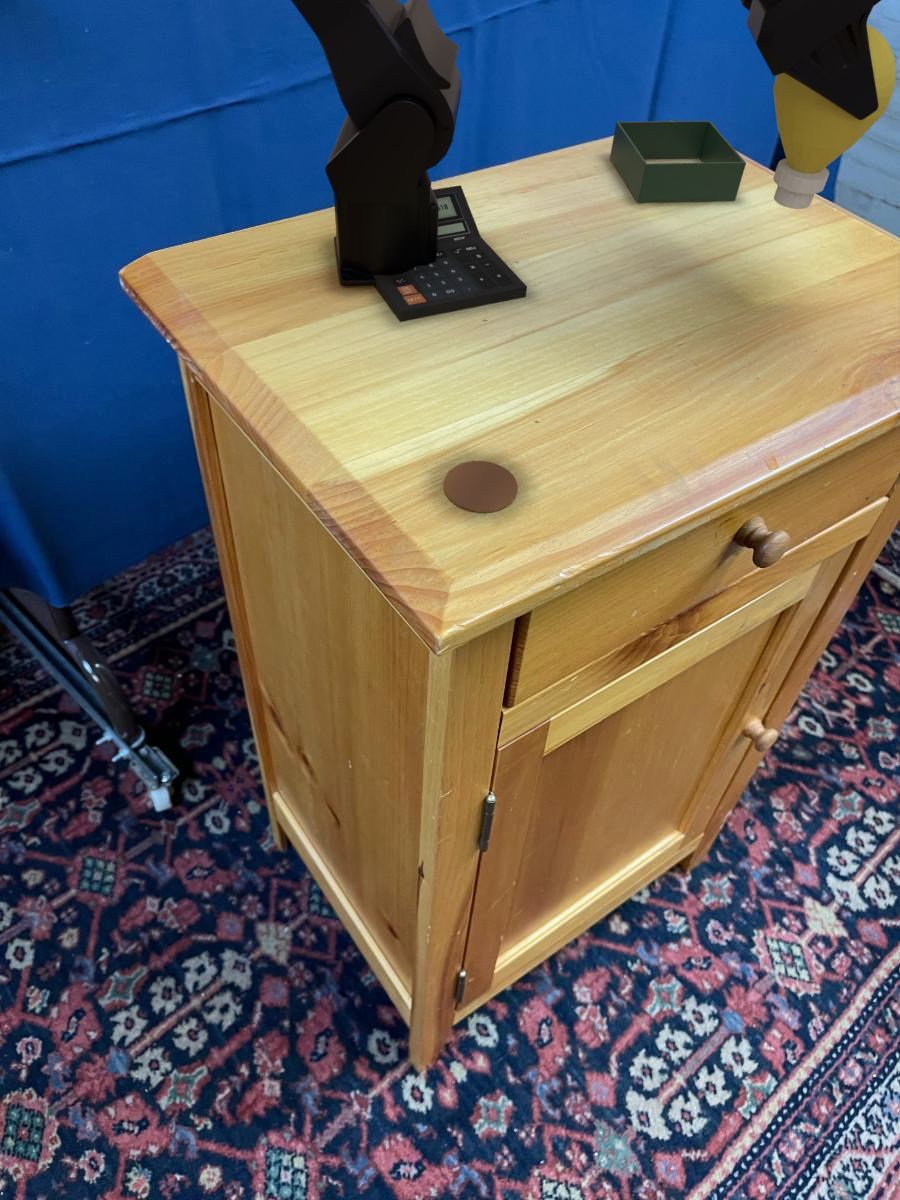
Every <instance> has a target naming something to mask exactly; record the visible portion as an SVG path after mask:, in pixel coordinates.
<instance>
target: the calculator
mask: <svg viewBox="0 0 900 1200" xmlns="http://www.w3.org/2000/svg"><path fill="white" fill-rule="evenodd" d="M432 189H433V188H432ZM433 190H434V192H435V196H436V199H437V202H438V205H439V215H438V241H437V260H436V261H435V262H434V263H429V264H428V265H425V266H417V267H415V268H413V269H412V270H409V271H407V272H404V273H401V274H395V275H373V277H374V278H375V279H376V286H374V288H375V289H376V291H377V292H378V293H379V295H380V297H381V298H382V299H383V301H384V302H385V303H386V304H387V306H388V307H389V309H390V310H391V311H392V313H393V314H394V315H395V317H396V318H397V320H398V322H400V323H402V322H407V321H412V320H417V319H422V318H423V319H424V318H428V317H432V316H433V317H434V316H438V315H442V314H447V313H453V312H457V311H463V310H468V309H473V308H478V307H483V306H487V305H492V304H497V303H502V302H503V303H504V302H508V301H513V300H518V299H523V298H526V297H527V291H528V286H527V284H526V283H525V282H523V280H522V279H521V278H520V277H519V276H518V275H517V274H516V273H515V272H514V270H512V269H511V268H510V267H509V265H508V264H507V263H506V262H505V261H504V260H503V259H502V258H501V257H500V256H499V254H497V252H496V251H495V250H494V249H493V248H492V247H491V246H490V245H489V244H488V243H487V242H486V241H485V240H484V239H483V238H482V236H481V233H480V231H479V229H478V226H477V224H476V221H475V218H474V216H473V213H472V211H471V207H470V205H469V202H468V200H467V197H466V195H465V192H464V189H463V187H462V185H461V184H459V185H454V186H448V187H446V186H445V187H441V188H436V189H435V188H434V189H433Z"/></svg>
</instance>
